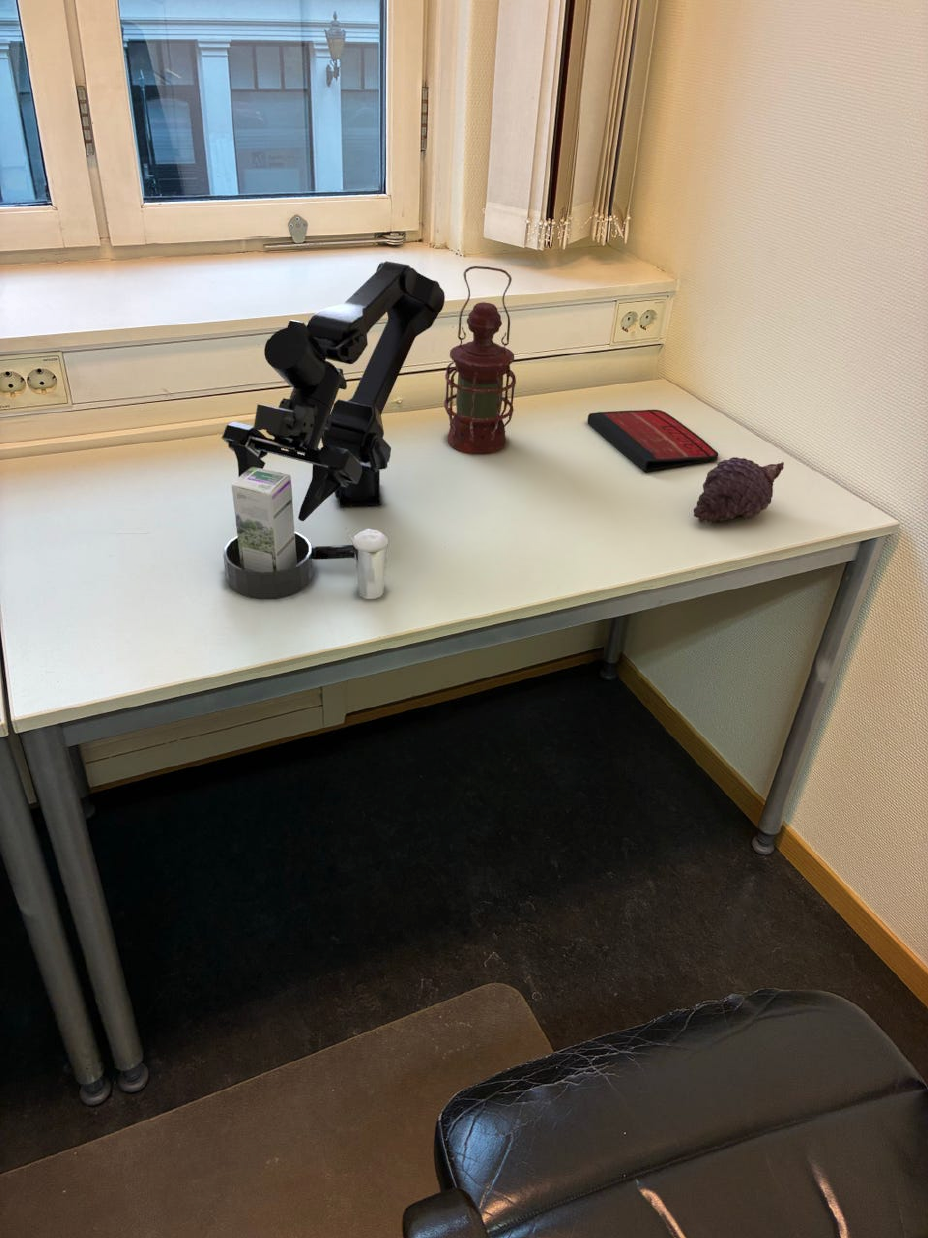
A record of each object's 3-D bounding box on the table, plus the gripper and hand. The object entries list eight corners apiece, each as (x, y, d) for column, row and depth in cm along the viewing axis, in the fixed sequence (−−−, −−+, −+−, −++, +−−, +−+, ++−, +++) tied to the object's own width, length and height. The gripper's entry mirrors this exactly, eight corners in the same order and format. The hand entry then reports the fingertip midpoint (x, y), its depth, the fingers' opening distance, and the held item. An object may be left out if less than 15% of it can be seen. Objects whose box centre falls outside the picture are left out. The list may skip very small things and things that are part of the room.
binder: (646, 460, 155) (587, 411, 170) (643, 473, 156) (585, 423, 172) (725, 452, 160) (661, 406, 176) (721, 464, 162) (658, 417, 177)
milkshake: (348, 583, 125) (346, 519, 119) (387, 583, 125) (387, 519, 120) (347, 602, 121) (345, 537, 115) (388, 602, 122) (388, 537, 116)
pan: (312, 550, 131) (310, 526, 129) (314, 596, 122) (312, 571, 120) (228, 553, 129) (225, 529, 127) (224, 601, 120) (221, 575, 118)
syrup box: (298, 566, 127) (292, 472, 119) (278, 588, 123) (270, 492, 114) (262, 557, 128) (253, 463, 120) (240, 579, 124) (229, 483, 115)
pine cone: (725, 545, 138) (701, 485, 135) (685, 544, 147) (662, 487, 145) (809, 492, 143) (788, 433, 140) (766, 494, 152) (745, 438, 150)
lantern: (434, 450, 159) (441, 272, 141) (451, 422, 169) (458, 252, 151) (503, 460, 157) (519, 281, 140) (516, 432, 167) (532, 260, 149)
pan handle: (382, 552, 127) (382, 541, 126) (383, 559, 126) (383, 548, 125) (309, 555, 126) (308, 544, 125) (309, 562, 124) (308, 551, 123)
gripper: (222, 362, 118) (179, 474, 116) (349, 391, 113) (306, 509, 111) (261, 399, 129) (222, 502, 127) (379, 427, 123) (341, 536, 121)
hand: (270, 511), depth 121 cm, fingers open, 9 cm apart
